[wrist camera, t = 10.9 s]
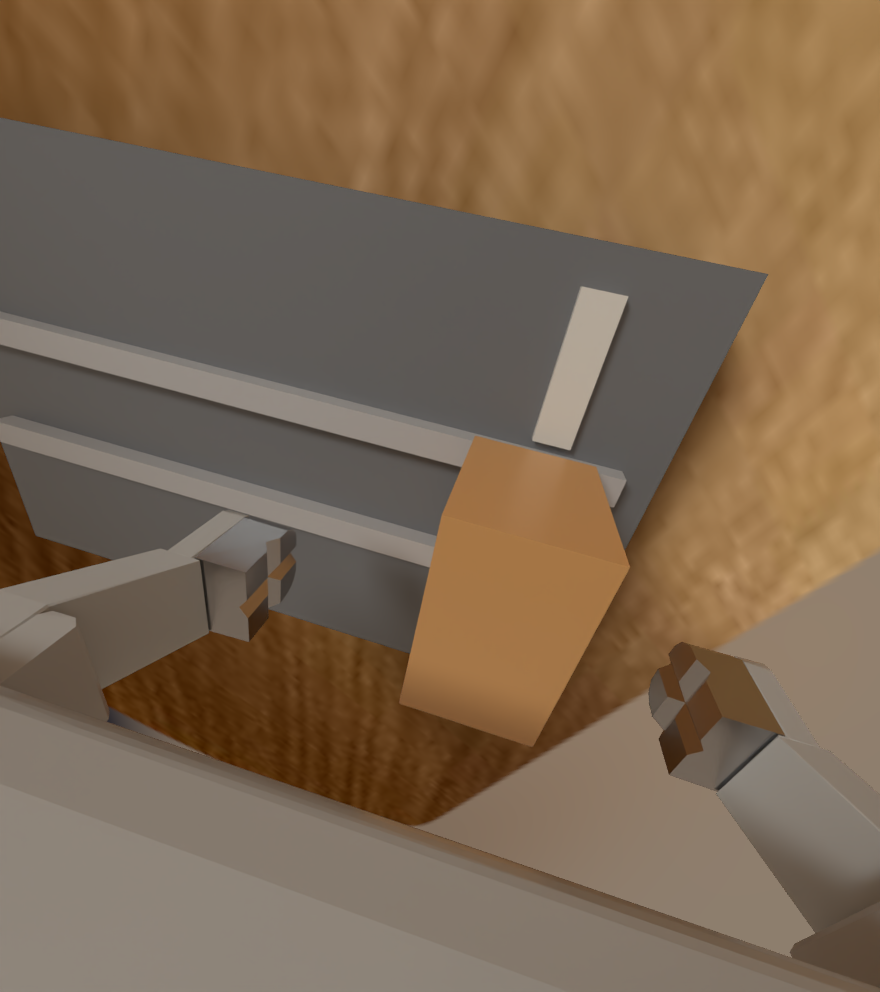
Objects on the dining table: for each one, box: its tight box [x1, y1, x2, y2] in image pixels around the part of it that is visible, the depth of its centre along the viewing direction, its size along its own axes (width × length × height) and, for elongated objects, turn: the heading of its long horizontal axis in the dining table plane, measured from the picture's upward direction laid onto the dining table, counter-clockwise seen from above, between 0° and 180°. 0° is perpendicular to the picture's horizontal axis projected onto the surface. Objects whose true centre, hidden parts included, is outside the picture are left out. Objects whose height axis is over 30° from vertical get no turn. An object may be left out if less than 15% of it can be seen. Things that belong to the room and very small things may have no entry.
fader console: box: [0, 118, 768, 654], centre depth 14 cm, size 22×14×4 cm, turn 79°
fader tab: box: [399, 436, 630, 747], centre depth 10 cm, size 3×5×5 cm, turn 169°
